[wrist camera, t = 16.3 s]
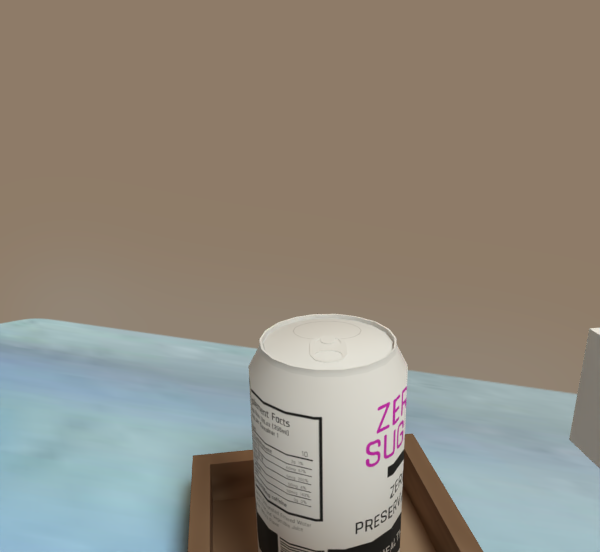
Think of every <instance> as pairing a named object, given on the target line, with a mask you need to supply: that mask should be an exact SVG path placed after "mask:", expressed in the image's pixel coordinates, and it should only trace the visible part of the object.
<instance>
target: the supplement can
mask: <svg viewBox="0 0 600 552" xmlns="http://www.w3.org/2000/svg"><path fill="white" fill-rule="evenodd" d="M407 367H408V365H407V363H406V361H405V360H404V358H403V356H402V354H401V352H400V350H399V348H398V346H397V345H396V337H395V336H394V335H393V333H392V332H391V331H390V329H388V328H386V327H384V326H383V325H381V324H379V323H377V322H375V321H371V320H368V319H364V318H361V317H357V316H348V315H341V314H314V315H307V316H300V317H294V318H291V319H288V320H285V321H282V322H278V323H277V324H275V325H273V326H272V327H270V328H268V329H267V330H265V332H264V333H263V335H262V337H261V338H260V345H259V347H258V349H257V351H256V353H255V355H254V357H253V359H252V361H251V363H250V365H249V382H250V402H251V421H252V440H253V460H254V479H255V498H256V517H257V537H258V552H400V534H401V511H402V487H403V464H404V440H405V417H406V394H407V369H408V368H407Z"/></svg>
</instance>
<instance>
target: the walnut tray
mask: <svg viewBox="0 0 600 552" xmlns="http://www.w3.org/2000/svg"><path fill="white" fill-rule="evenodd" d="M188 552H258V537H257V517H256V498H255V479H254V460H253V450H245V451H235V452H225V453H215V454H205V455H195V456H193V464H192V482H191V501H190V519H189V538H188ZM400 552H483V550H482V549H481V547H480V545H479V544H478V542H477V540H476V539H475V537H474V535H473V534H472V532H471V530H470V529H469V527H468V525H467V524H466V522H465V520H464V519H463V517H462V515H461V514H460V512H459V510H458V509H457V507H456V505H455V504H454V502H453V500H452V499H451V497H450V495H449V494H448V492H447V490H446V489H445V487H444V485H443V484H442V482H441V480H440V479H439V477H438V475H437V473H436V472H435V470H434V468H433V467H432V465H431V463H430V462H429V460H428V458H427V457H426V455H425V453H424V452H423V450H422V448H421V447H420V445H419V443H418V442H417V440H416V438H415V437H414V435H413V434H405V440H404V464H403V487H402V511H401V534H400Z"/></svg>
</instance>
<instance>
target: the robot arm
mask: <svg viewBox="0 0 600 552" xmlns="http://www.w3.org/2000/svg"><path fill="white" fill-rule="evenodd" d="M569 440H570V441H571V442H572V443H574V444H575V445H576V446H577V447H578V448H579V449H580V450H581V451H582V452H583V453H584V454H585V455H586V456H587V457H588V458H589V459H590V460H591V461H592V462H593V463H595V464H596V465H597V466H598V467H599V468H600V328H593V329H592V328H591V329H589V334H588V339H587V345H586V350H585V356H584V361H583V367H582V372H581V378H580V383H579V389H578V394H577V400H576V405H575V411H574V416H573V422H572V427H571V433H570V438H569Z"/></svg>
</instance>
